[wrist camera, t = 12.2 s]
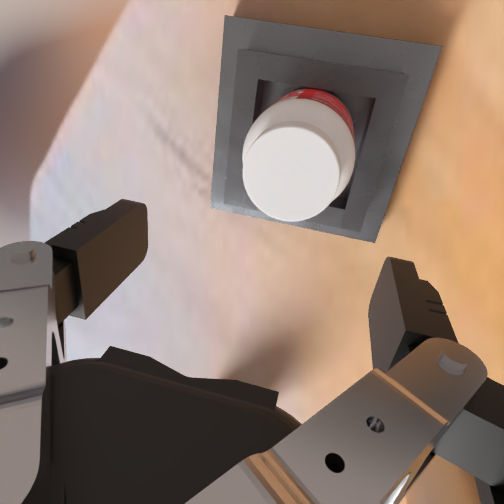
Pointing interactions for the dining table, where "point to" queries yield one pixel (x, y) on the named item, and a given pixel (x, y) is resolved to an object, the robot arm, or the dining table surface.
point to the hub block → (326, 78)
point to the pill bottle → (299, 154)
